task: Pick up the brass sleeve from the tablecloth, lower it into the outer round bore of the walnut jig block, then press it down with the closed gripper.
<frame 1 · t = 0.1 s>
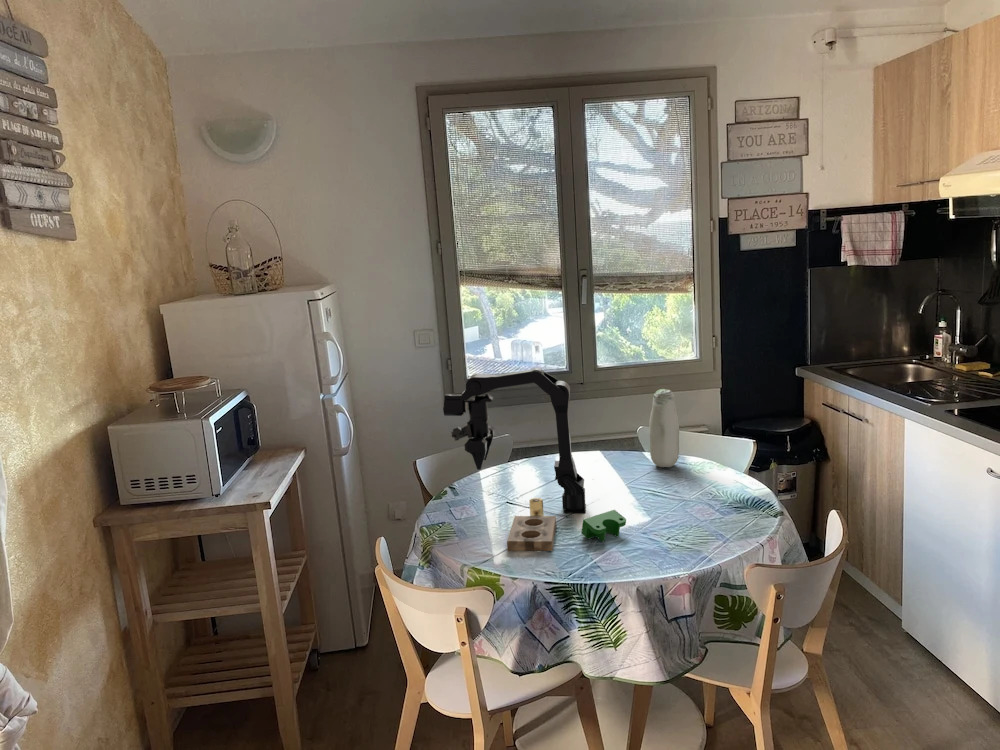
hand: (481, 464, 227), 15 cm above the table, tool pointing down, fingers open, 9 cm apart
walnut jig: (532, 538, 206), on the table
white bottle: (664, 467, 260), on the table
brass sleeve: (537, 519, 220), on the table
clamp: (604, 537, 205), on the table
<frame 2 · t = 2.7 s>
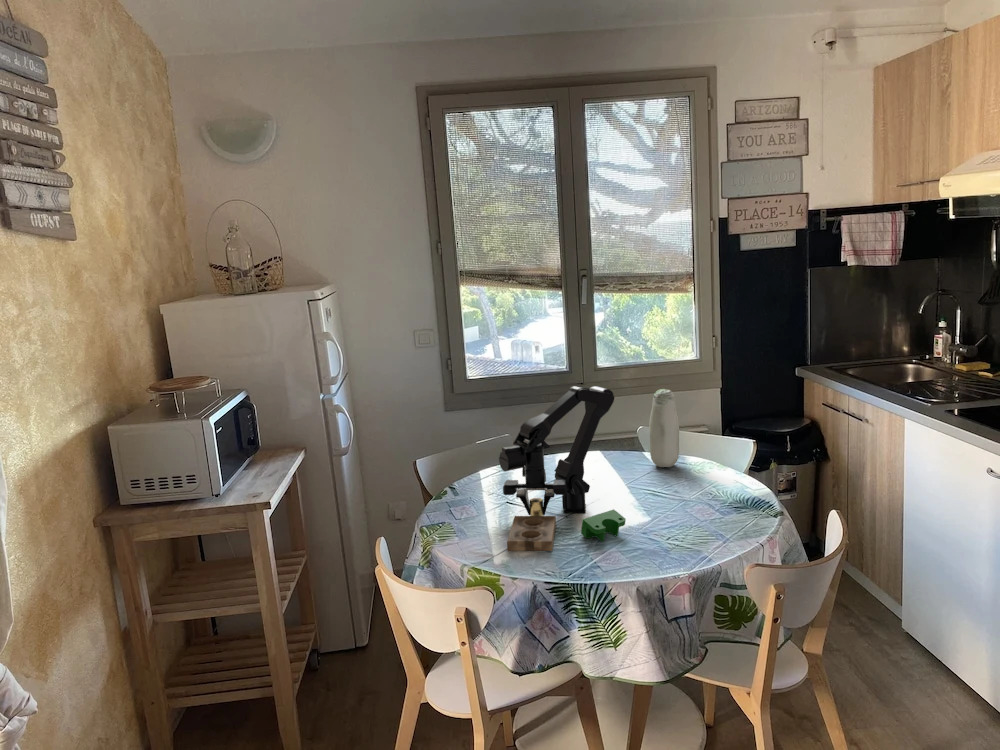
hand: (536, 514, 219), 2 cm above the table, tool pointing down, fingers closed on brass sleeve, 4 cm apart
brass sleeve: (537, 519, 220), on the table, touching gripper
everything else where it was.
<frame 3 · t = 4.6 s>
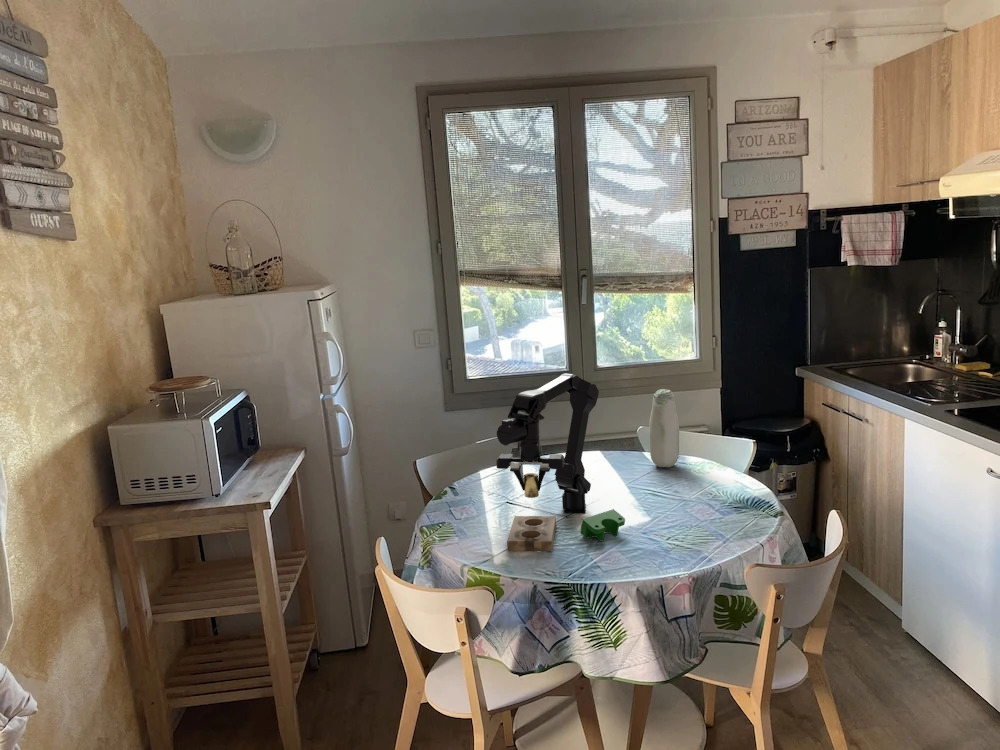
hand: (531, 490, 210), 12 cm above the table, tool pointing down, fingers closed on brass sleeve, 4 cm apart
brass sleeve: (531, 495, 210), point 10 cm above the table, touching gripper
everything else where it was.
when the fingers open (4 cm above the table, at t = 6.9 s): brass sleeve drops 3 cm, resting in walnut jig.
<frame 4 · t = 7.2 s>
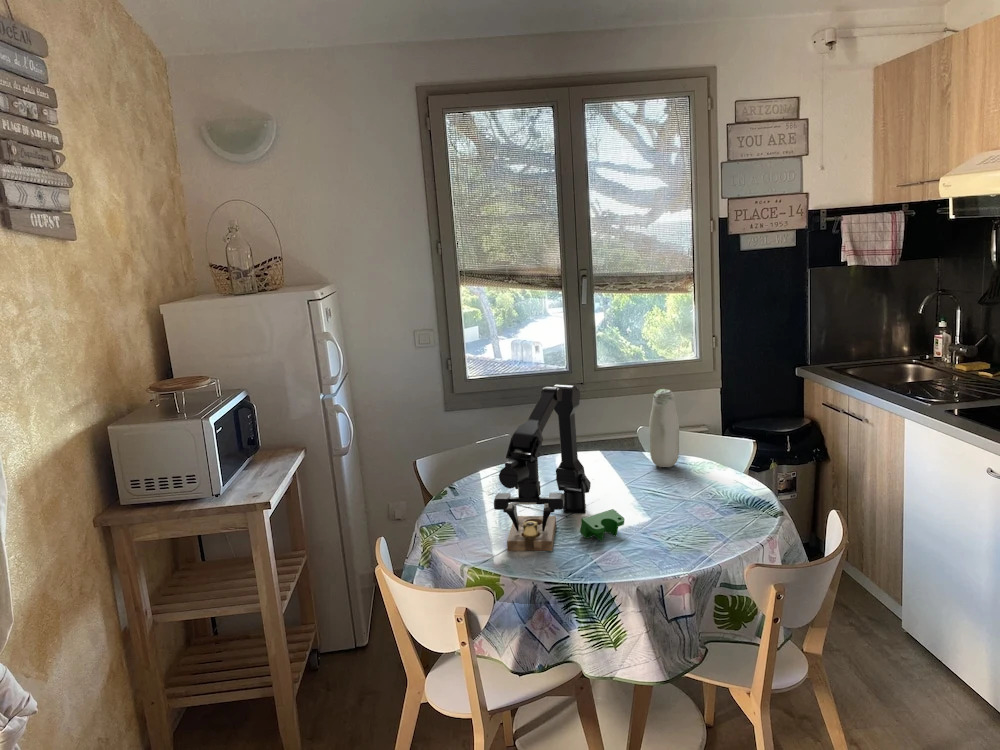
hand: (530, 530, 202), 4 cm above the table, tool pointing down, fingers open, 7 cm apart
brass sleeve: (531, 544, 202), resting in walnut jig
everything else where it was.
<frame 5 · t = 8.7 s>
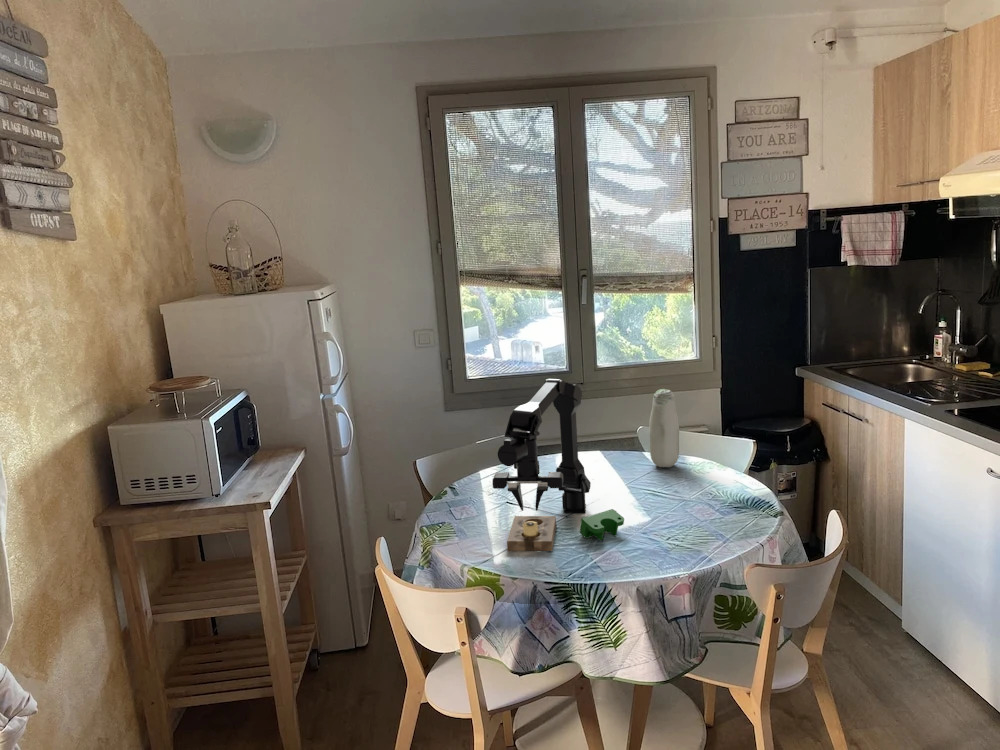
hand: (529, 510, 200), 10 cm above the table, tool pointing down, fingers open, 4 cm apart
nothing on the table moved.
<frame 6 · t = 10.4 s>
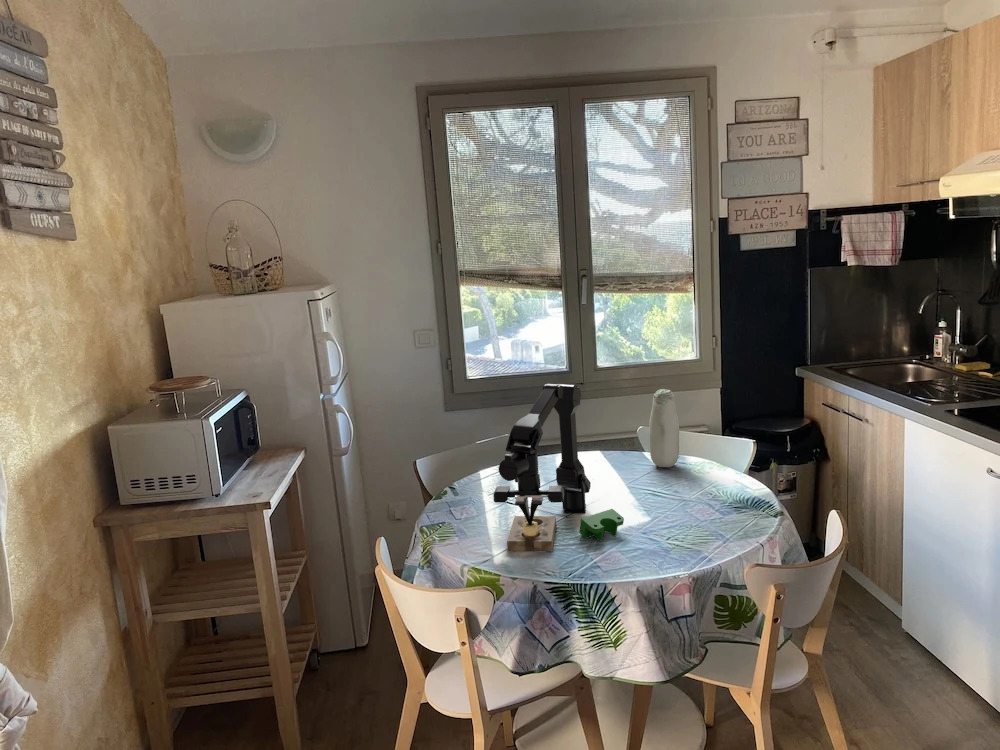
hand: (530, 523, 201), 6 cm above the table, tool pointing down, fingers closed, pressing on brass sleeve
brass sleeve: (531, 544, 202), resting in walnut jig, touching gripper
everything else where it was.
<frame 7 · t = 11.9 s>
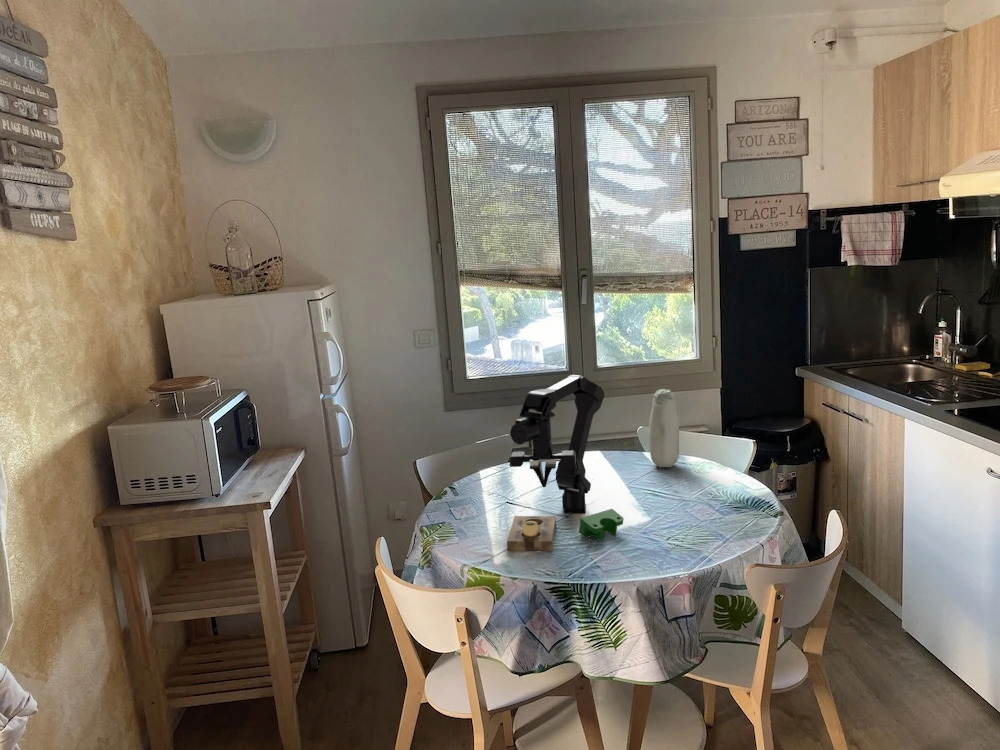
hand: (544, 486, 213), 12 cm above the table, tool pointing down, fingers closed
brass sleeve: (531, 544, 202), resting in walnut jig
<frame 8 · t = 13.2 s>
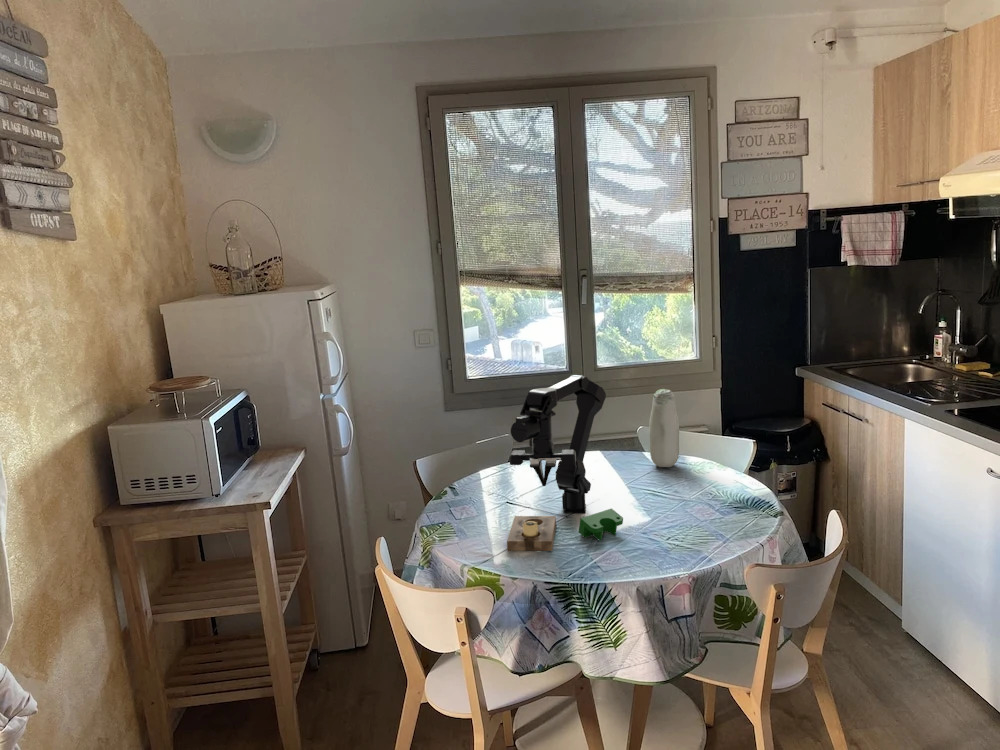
hand: (544, 485, 213), 12 cm above the table, tool pointing down, fingers closed
at the end: brass sleeve 0.0 cm from the target spot on the walnut jig, point 0.0 cm above the walnut jig's base; brass sleeve tilted 0°; the gripper is holding nothing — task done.
